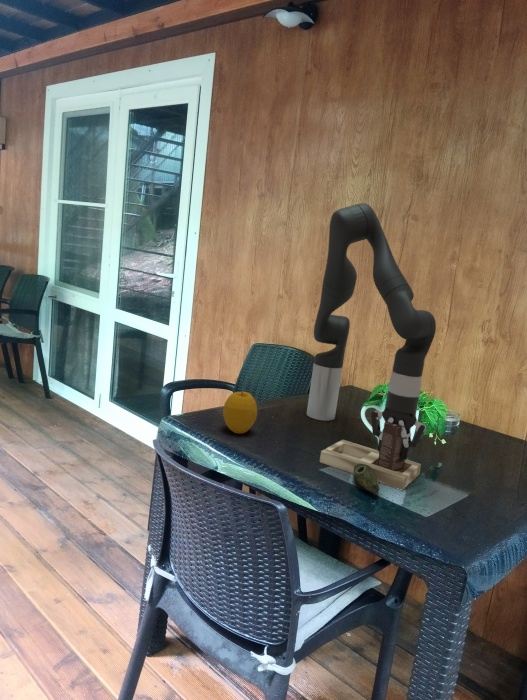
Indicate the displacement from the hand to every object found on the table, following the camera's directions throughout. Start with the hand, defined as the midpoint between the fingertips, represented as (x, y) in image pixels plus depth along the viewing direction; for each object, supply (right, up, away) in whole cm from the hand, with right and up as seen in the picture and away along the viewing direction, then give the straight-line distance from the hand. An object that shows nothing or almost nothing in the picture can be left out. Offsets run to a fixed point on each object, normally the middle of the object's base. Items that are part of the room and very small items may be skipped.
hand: (392, 456), depth 142 cm
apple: (-39, +3, +19) cm, 44 cm away
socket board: (-5, -4, +4) cm, 7 cm away
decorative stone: (-8, -6, -8) cm, 13 cm away
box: (-1, -3, +1) cm, 3 cm away
